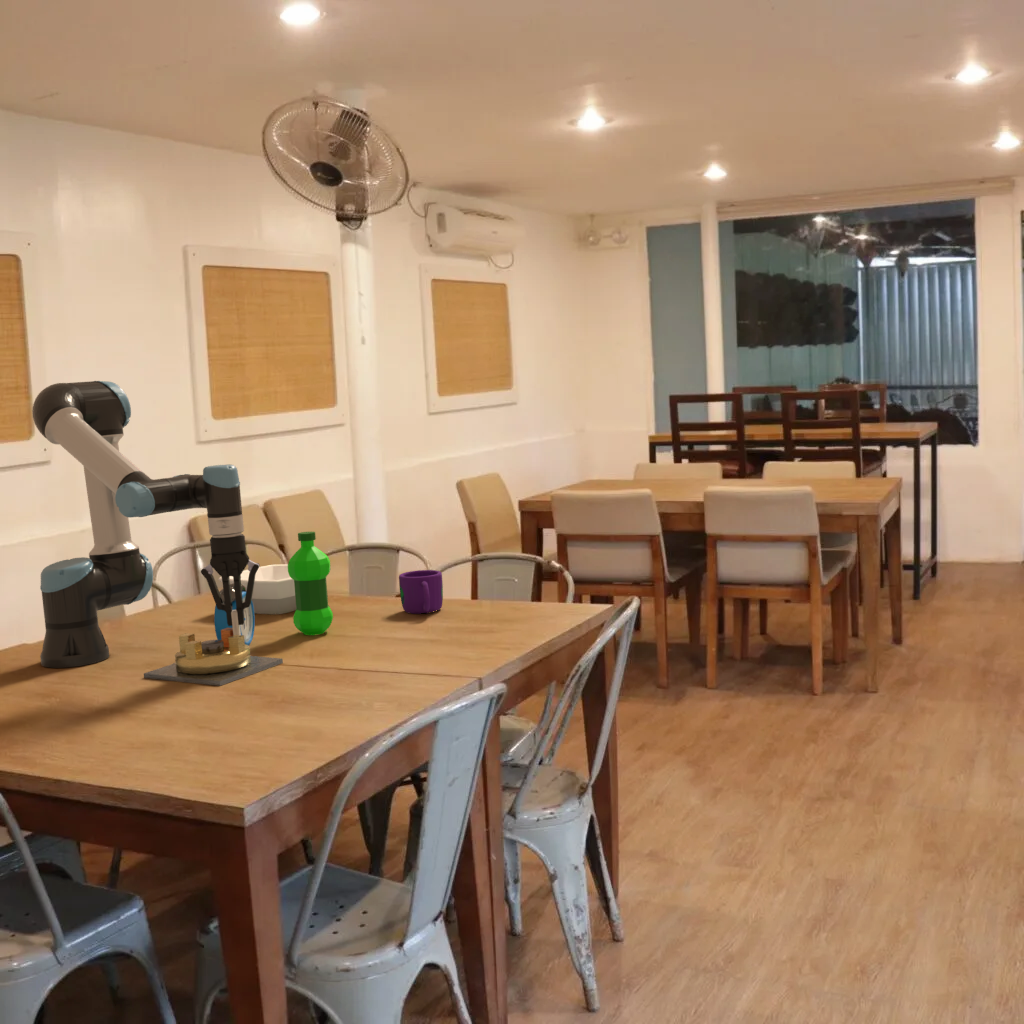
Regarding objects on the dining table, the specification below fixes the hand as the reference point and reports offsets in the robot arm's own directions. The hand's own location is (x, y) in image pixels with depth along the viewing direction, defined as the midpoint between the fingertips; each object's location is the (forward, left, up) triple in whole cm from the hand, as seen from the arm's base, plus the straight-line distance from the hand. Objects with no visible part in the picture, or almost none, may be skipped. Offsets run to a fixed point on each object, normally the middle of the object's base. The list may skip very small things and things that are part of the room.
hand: (237, 639), depth 273 cm
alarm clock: (-13, +13, -6) cm, 19 cm away
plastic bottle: (-4, +31, -6) cm, 32 cm away
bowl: (-35, +54, -6) cm, 64 cm away
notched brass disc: (-2, -6, -4) cm, 8 cm away
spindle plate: (-2, -6, -6) cm, 9 cm away
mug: (+10, +59, -6) cm, 60 cm away
